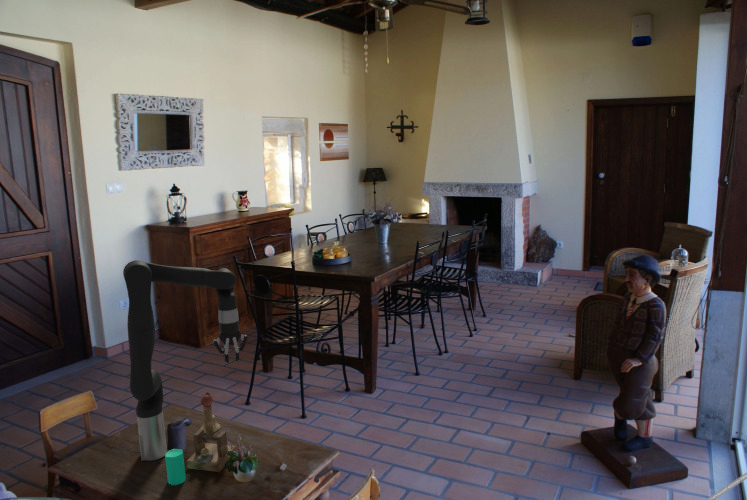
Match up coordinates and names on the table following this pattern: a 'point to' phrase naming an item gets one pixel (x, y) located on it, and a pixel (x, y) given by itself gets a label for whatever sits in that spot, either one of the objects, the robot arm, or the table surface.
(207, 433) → the lever
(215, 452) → the nutcracker bench
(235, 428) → the table surface
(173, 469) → the candle
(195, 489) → the table surface
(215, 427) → the hand bell
